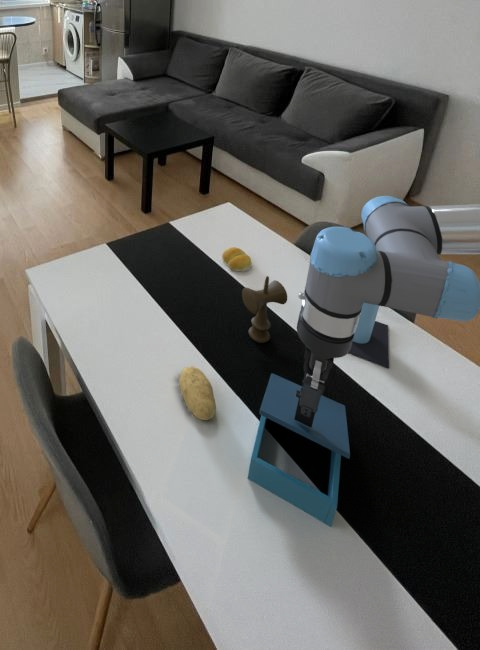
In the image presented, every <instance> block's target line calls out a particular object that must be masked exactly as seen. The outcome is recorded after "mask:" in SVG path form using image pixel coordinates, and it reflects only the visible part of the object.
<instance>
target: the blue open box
mask: <svg viewBox="0 0 480 650" xmlns="http://www.w3.org/2000/svg"><path fill="white" fill-rule="evenodd" d="M267 420H268V418H266V417H264V416H262V415H260V419H259V423H258V427H257V432H256V436H255V440H254V443H253V448H252V452H251V456H250V462H249V467H248V474H247V479H248V480H249V481H250V482H253V483H254V484H256V485H258V486H259V487H261V488H263V489H264V490H267V491H268V492H270V493H272V494H273V495H275V496H277V497H278V498H280V499H282V500H284V501H285V502H287V503H289V504H290V505H293V506H294V507H295V508H297V509H299V510H300V511H302V512H304V513H306V514H307V515H309V516H311V517H313V518H315V519H316V520H318V521H320V522H322V523H323V524H325V525H326V526H328V527H330V528H331V527H332V526H333V522H334V518H335V516H336V511H337V509H338V504H339V503H338V502H339V501H338V500H339V486H340V473H341V459H342V455H340V454H338V453H336V452H334V451H332V450H331V454H330V463H329V464H330V465H329V477H328V486H327V487H328V488H327V494H325V493H323V492H321V491H320V490H318V489H316V488H314V487H313V486H311V485H309V484H307V483H305V482H304V481H302V480H300V479H297V478H296V477H294V476H293V475H291V474H289V473H287V472H285V471H283V470H282V469H279V468H278V467H276V466H274V465H272V464H271V463H269V462H267V461H265V460H263V459H262V458H259V456H260V450H261V447H262V442H263V438H264V433H265V430H266V429H265V428H266V425H267Z"/></svg>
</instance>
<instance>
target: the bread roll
mask: <svg viewBox="0 0 480 650" xmlns="http://www.w3.org/2000/svg"><path fill="white" fill-rule="evenodd" d="M221 258H222V261H223V262H224V264H226V265H227V267H228V268H229V269H231V271H234V272H247V271H248V270H250V268H252V264H253V263H252V262H253V261H252V259H251V257H250V256H249V255H248V254H247V253H246V252H245V251H244V250H243V249H241V248H240V247H229V248H228V249H225V250H223V252H222V255H221Z"/></svg>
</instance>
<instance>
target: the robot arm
mask: <svg viewBox="0 0 480 650" xmlns="http://www.w3.org/2000/svg"><path fill="white" fill-rule="evenodd" d="M361 209H362V210H361V213H360V214H361V215H360V218H361V221H362V224H363V231H364V233H365V234H364V233H362V232H361V231H354V230H352V229H351V228H349V227H345V226H329V227H326V228H323V229H322V230H320V231H319V232H318V233H317V234H316V237H315V239H314V243H313V247H312V250H311V252H310V254H309V258H310V259H309V265H308V269H307V276H306V282H305V286H304V292H301V291H300V292H299V293H298V299H300V300H302V301H301V305H300V311H299V313H298V319H297V324H296V333H297V335H298V337H299V339H300V341H301V343H303V344H304V346H305V350H304V355H303V358H304V363H303V373H304V374H303V375H304V376H303V379H302V380H301V384H302V385H301V386H302V387H303V388H302V387H301V390H300V391H298V390H297V391H296V396H295V397H297V398H299V399H298V404H297V408H296V413H295V418H294V420H296V421H298V422H300V423H302V424H304V425H306V426H309V427H311V428H312V424H313V420H314V416H315V413H316V412H317V411H318V405H319V401H320V398H321V395H322V396H324V393H325V390H326V386H325V381H326V380H328V377H329V373H330V370H332V369H333V366H334V362H335V359H339V358H342V357H345V356H347V355H348V354H350V353H349V351H350V349H351V345H352V342H353V338H354V334H355V331H356V329H357V325H358V322H359V318H360V314H361V310H362V305H363V303H368V304H373V305H378V306H379V307H384V308H389V309H393V310H398V311H403V312H407V313H413V314H416V315H421V316H426V317H430V318H432V319H436V320H437V319H444V320H451V321H456V322H470V321H473V320H474V319H475V318H476V317H477V316H478V314H479V311H480V280H479V278H478V277H477V274H476V273H475V272H474V270H472V269H471V268H470V267H468V266H466V265H464V264H460V263H456V262H453V261H450V260H443V259H441V257H440V255H480V203H469V204H468V203H467V204H466V203H465V204H447V205H446V204H445V205H443V204H442V205H422V206H421V205H419V206H418V205H417V206H415V205H414V206H410V205H409V204H408V203H406V202H405V201H404V200H403V199H401V198H399V197H396V196H392V195H380V196H376V197H373V198H371V199H369V200H368V201H367V202H366V203H365V204H364V205H363V207H362V208H361Z"/></svg>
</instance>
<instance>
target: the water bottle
mask: <svg viewBox="0 0 480 650" xmlns="http://www.w3.org/2000/svg"><path fill="white" fill-rule="evenodd" d="M379 309H380V306H378V305H373V304H368V303H363V305H362V310H361V314H360V318H359V322H358V325H357V329H356V331H355V334H354V338H353V342H356V343H362V344H363V343H367V342H368V341H369V340H370V337H371V334H372V330H373V327H374V323H375V321H377V320H376V319H377V316H378V312H379Z"/></svg>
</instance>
